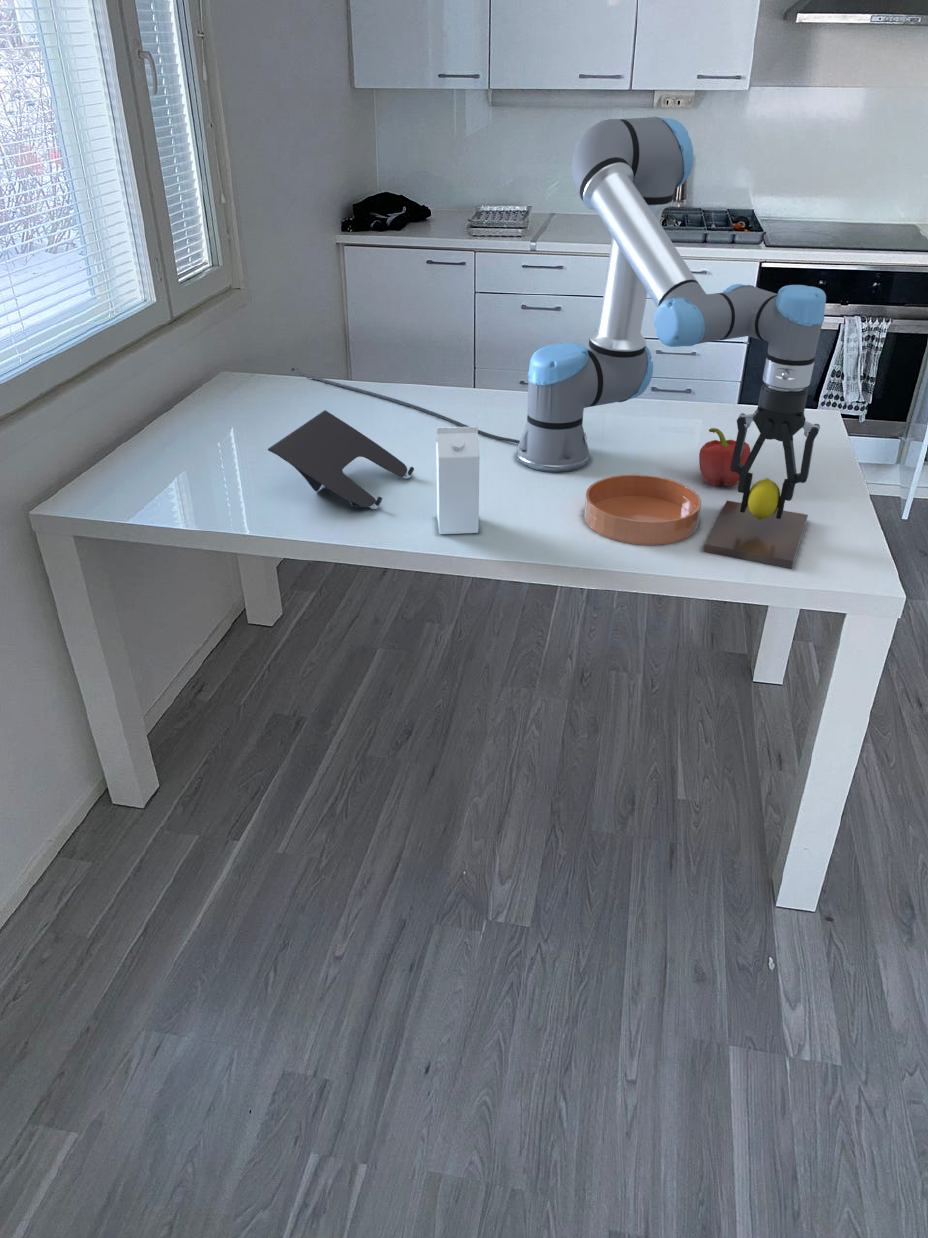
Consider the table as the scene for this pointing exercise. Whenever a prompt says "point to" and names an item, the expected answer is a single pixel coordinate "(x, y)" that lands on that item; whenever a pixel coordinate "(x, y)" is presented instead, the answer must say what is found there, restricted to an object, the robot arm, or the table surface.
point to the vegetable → (720, 460)
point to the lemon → (763, 499)
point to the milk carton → (457, 480)
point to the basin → (642, 509)
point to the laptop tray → (335, 456)
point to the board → (756, 536)
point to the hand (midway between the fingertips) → (761, 512)
